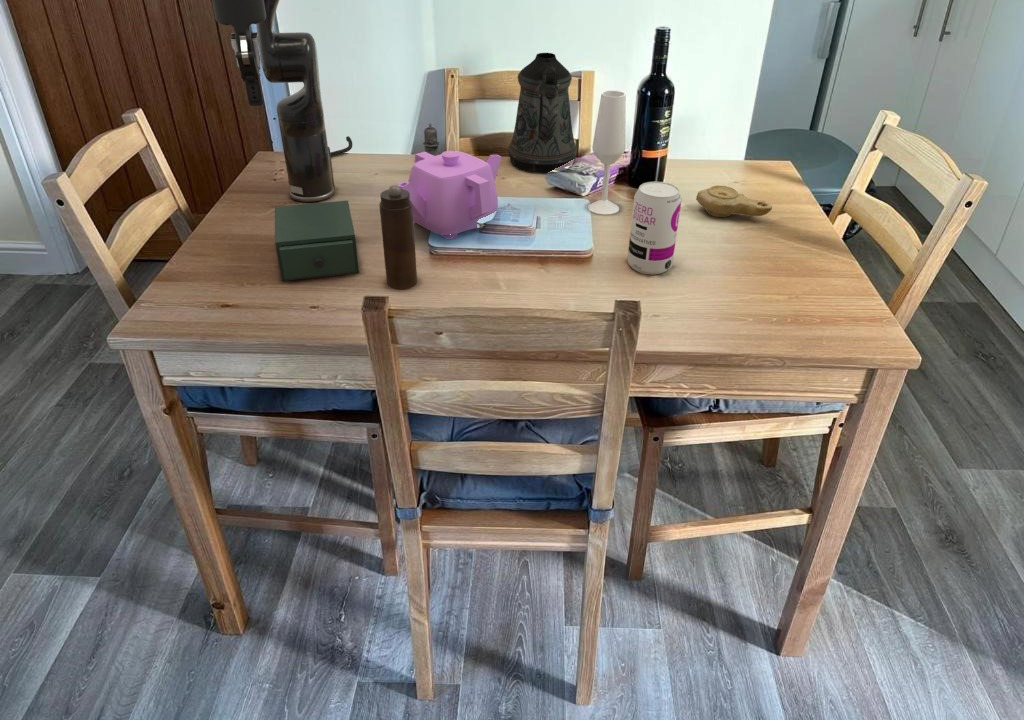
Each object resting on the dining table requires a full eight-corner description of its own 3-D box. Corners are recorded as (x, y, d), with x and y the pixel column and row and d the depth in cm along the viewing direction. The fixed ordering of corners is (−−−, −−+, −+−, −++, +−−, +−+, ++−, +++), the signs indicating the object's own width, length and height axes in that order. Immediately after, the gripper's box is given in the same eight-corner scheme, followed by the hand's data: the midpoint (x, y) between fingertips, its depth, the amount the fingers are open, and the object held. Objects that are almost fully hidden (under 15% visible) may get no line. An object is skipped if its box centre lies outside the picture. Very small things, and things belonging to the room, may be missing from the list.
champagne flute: (584, 211, 161) (592, 96, 148) (592, 199, 167) (601, 87, 153) (615, 216, 159) (626, 100, 146) (622, 204, 165) (634, 91, 151)
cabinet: (359, 273, 138) (354, 234, 133) (282, 281, 135) (274, 242, 131) (352, 236, 150) (348, 200, 146) (281, 243, 147) (274, 206, 143)
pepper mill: (395, 273, 138) (386, 177, 128) (422, 277, 137) (416, 181, 126) (381, 286, 134) (371, 189, 123) (409, 292, 132) (402, 193, 122)
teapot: (400, 244, 148) (394, 169, 139) (411, 206, 163) (407, 136, 154) (499, 246, 148) (499, 171, 139) (501, 208, 162) (501, 138, 154)
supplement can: (674, 259, 144) (685, 183, 135) (667, 279, 137) (678, 201, 129) (632, 252, 146) (640, 177, 137) (623, 271, 139) (631, 194, 131)
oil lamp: (770, 225, 157) (775, 202, 154) (701, 224, 157) (705, 202, 154) (756, 204, 165) (761, 182, 163) (691, 204, 165) (694, 182, 162)
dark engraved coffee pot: (550, 146, 195) (555, 42, 180) (596, 170, 181) (605, 60, 167) (495, 157, 187) (495, 50, 173) (539, 183, 174) (543, 70, 160)
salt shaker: (441, 180, 175) (439, 128, 168) (416, 178, 176) (413, 126, 169) (448, 171, 180) (446, 120, 173) (424, 169, 180) (421, 118, 174)
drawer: (356, 275, 135) (353, 245, 132) (284, 282, 133) (279, 252, 129) (349, 237, 148) (346, 209, 144) (283, 243, 145) (278, 215, 142)
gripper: (261, -6, 110) (280, 115, 120) (262, -20, 120) (279, 91, 130) (206, -4, 108) (230, 118, 118) (212, -19, 119) (234, 94, 129)
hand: (256, 104), depth 124 cm, fingers closed
